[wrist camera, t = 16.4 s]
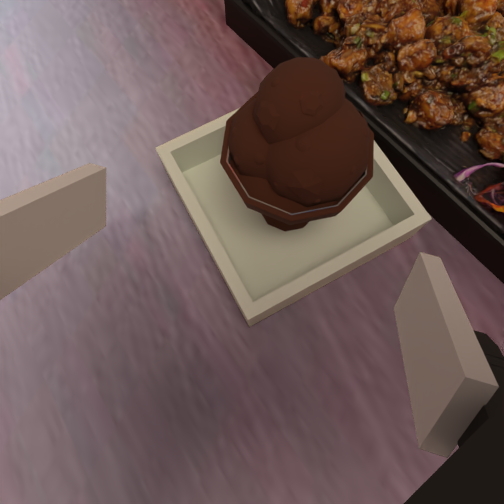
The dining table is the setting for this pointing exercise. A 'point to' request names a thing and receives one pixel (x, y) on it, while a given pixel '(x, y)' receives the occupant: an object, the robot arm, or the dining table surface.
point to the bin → (275, 240)
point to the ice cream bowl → (298, 146)
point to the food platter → (411, 93)
